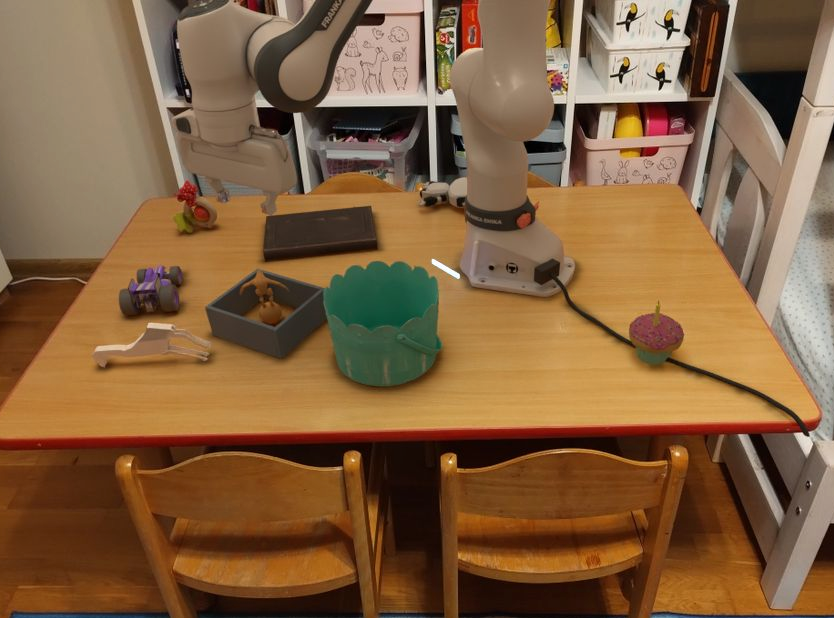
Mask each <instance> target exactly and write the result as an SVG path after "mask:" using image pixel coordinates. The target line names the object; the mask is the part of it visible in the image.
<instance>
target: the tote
mask: <svg viewBox="0 0 834 618" xmlns="http://www.w3.org/2000/svg"><path fill="white" fill-rule="evenodd" d="M258 270H261V271H262V272H263V275H264V276H265V277H266V278H268V279H270V280H274V281H277V282H280V283H281V284H283V285H285V286H286V287H287V288H288V290H289V291H288V290H287V289H285V288H283V287H281V286H279V285H276V284H271V283H268V285H267V289H268V288H271V290H272V292H273V294H272V297H273V301H272V302H274V303H277V304H282V305H285V306H288V307H291V308H293V309H295V310H294V311H293V312H291V313H290V314H289V315H288V316H287V317H286V318H284V319H283V320H282V321H281V322H280V323H279V324H277V325H276V326H272V325H270V324H267V323H264V322H261V321H257V320H255V319H251V318H248V317H245V316H244V315H245V313H247V312H248V311H249V310H251V309H252V308H253V307H254V306H256V305H258V303H259V302H260V296H258V295H257V294H256V292H255V290H256V289H257V287H256V286H255V285H250V286H248V287H245V288H244V290H243V292H242V293H243V294H242V293H241V296H240V290H241V288H242V286H243V285H244V284H246V283H248V282H250V281H251V280H253V279H254V278H255V277H256V274H257V271H258ZM324 289H325V287H322V286H318V285H315V284H312V283H310V282H309V283H308V282H306V281H301V280H298V279H295V278H291V277H288V276H284V275H281V274H278V273H274V272H272V271H268V270H264V269H260V268H256V269H255V270H253V271H252V272H251V273H249V274H248V275H247V276H245V277H244V278H242V279H241V280H240V281H238V282H236V283H235V284H234V285H233V286H232V287H231V288H229V289H227V290H226V291H225V292H224V293H222V294H221V295H219V296H218V297H217V298H215V299H214V300H213V301H211V302H210V303H209V304H207V305H206V306H204V309H205V312H206V316H207V319H208V322H209V327H210V329H211V334H212V335H213V336H215V337H218V338H221V339H223V340H226V341H228V342H231V343H235V344H238V345H239V346H242V347H245V348H249V349H252V350H255V351H257V352H260V353H262V354H265V355H268V356H271V357H274V358H277V359H280V360H282V359H284V358H285V357H286V356H287V355H288V354H289V353H291V352H292V351H293V350H294V349H295V348H296V347H297V346H298V345H299V344H301V343H302V342H303V341H304V340H305V339H306V338H307V337H308V336H309V335H311V334H312V333H313V332H314V331H315V330H316V329H317V328H318V327H320V325H322V324H323V323H324V322H325V321H327V316H326V311H325V307H324V302H323V301H324V296H323V292H324ZM262 297H263V299H264V300H265V299H266V300H269V297H270V295H267V294H263V295H262ZM260 303H261V302H260Z"/></svg>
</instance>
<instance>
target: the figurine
mask: <svg viewBox="0 0 834 618" xmlns="http://www.w3.org/2000/svg"><path fill="white" fill-rule="evenodd" d="M261 270H262V269H260V270H258V271H257V274H256V277H255V278H254V279H253V280H251V281H250V282H248V283H246V284H244V285H243V286H242V288H241V290H240V296H241V293H242V292H243V290H244V288H245V287H248V286H250V285H255V286H256V287H257V289H256V290H255V292H256V294H257V295H258V296H260V303H261V305H260V308H259V309H258V316H259V318H260V320H261V321H262V323H264V324H266V325H275V324H278V323H279V322H280V321H281V319H282V316H283V310H282V307H281V306H280V304H279V303H277V302H275V301H273V297H272V294H273V292H272V290H271V288H268V289H267V285H268V283H271V284H276V285H279V286H281V287H283V288H285V289H287V290H288V288H287V287H286V286H285V285H283V284H281V283H280V282H277V281H274V280H270V279H268V278H266V277H265V276H264V275H263V272H262V271H261ZM288 291H289V290H288ZM242 294H243V293H242ZM263 294H267V295H270V297H269V299H268V301H267V302H265V298H263V297H262V295H263Z"/></svg>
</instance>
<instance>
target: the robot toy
mask: <svg viewBox="0 0 834 618" xmlns="http://www.w3.org/2000/svg"><path fill="white" fill-rule="evenodd" d="M466 195H467V176H466V177H459V178H457V179H454V181H453V182H452V183H451V184H448V183H447V182H439V181H434V180H430V181H426V182H425V183H423V187H422V189H421V190H420V191H419V197H420V198H421V199H422V200H418V201H417V202H416V203H417V206H418V207H426V208H428V207H433V206H440V205H443V204H447V203H448V202H449V204H450V205H452V206H453V207H455V208H458V209H461V208H462V209H464V210H465V197H466Z"/></svg>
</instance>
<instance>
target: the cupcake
mask: <svg viewBox="0 0 834 618" xmlns="http://www.w3.org/2000/svg"><path fill="white" fill-rule="evenodd" d="M654 309H655V311H654V312H651V313H645V314H642V315H638V316H637V317H636V318H635V319H634V320H632V321H631V322H630V324H629V328H628V336H629V340H630V341H631V342H632V343H633V345H635V346H636V348H635V351H636V356H637V357H638V359H639V360H640V361H641V362H643V363H645V364H648V365H653V366H655V365H656V366H657V365H661V364H664V363H666V359H667V358H668V357H669V358H670V355H672V353H673V352H674V351H677V350H678V349H680V348H681V346H682V343H683V342H684V337H685V333H684V329H683V327H682V325H681V323H679V322H678V321H677V320H675V319H674V318H672V317H671V316H668V315H667V314H663V313H660V311H661V303H660V300H657V303H655V308H654Z"/></svg>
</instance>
